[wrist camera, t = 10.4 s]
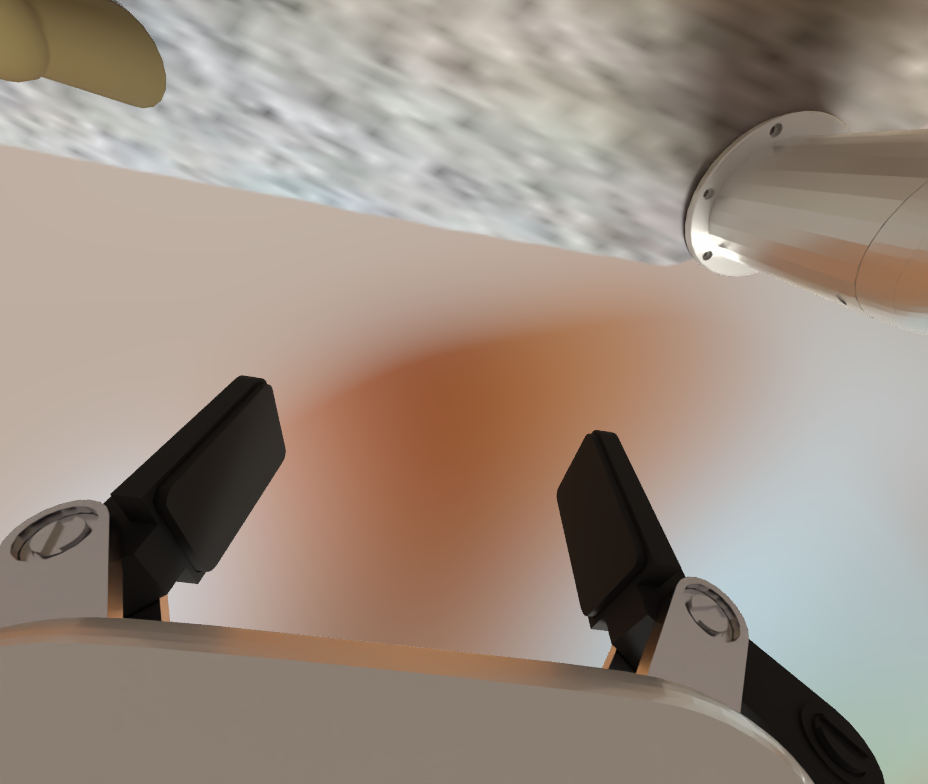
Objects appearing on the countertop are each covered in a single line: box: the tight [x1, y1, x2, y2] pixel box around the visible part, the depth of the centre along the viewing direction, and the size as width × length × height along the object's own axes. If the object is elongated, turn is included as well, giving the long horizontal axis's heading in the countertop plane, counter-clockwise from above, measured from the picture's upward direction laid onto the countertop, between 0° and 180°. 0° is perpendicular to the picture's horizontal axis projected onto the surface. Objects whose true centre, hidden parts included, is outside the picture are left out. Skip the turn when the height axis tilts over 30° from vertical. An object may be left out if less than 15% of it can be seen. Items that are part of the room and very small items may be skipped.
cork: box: [0, 0, 166, 108], centre depth 21 cm, size 6×6×11 cm
